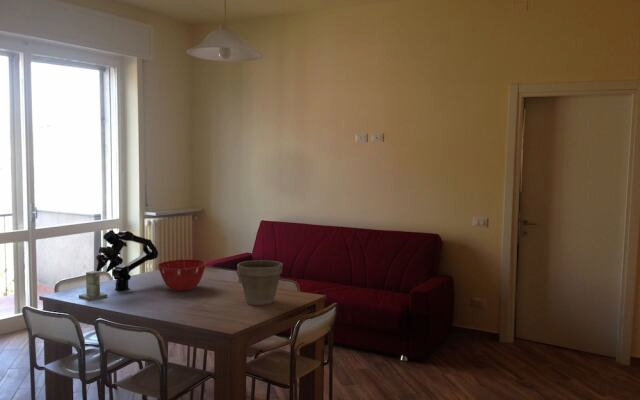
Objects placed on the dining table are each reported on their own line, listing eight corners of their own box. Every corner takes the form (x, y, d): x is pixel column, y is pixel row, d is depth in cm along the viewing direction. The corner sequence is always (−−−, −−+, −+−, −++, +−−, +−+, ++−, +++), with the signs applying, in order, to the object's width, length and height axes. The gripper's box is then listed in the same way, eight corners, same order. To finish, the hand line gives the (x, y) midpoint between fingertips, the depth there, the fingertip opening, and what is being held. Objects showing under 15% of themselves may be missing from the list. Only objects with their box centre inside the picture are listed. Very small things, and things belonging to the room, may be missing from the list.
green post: (93, 293, 316) (93, 270, 315) (100, 294, 314) (99, 271, 313) (86, 295, 312) (86, 272, 311) (92, 296, 309) (92, 273, 308)
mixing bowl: (183, 296, 317) (183, 269, 316) (148, 290, 331) (147, 264, 330) (215, 286, 341) (215, 262, 340) (181, 281, 355) (181, 257, 354)
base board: (97, 294, 321) (96, 291, 320) (107, 297, 314) (107, 294, 314) (78, 297, 312) (78, 295, 312) (89, 301, 305) (89, 298, 305)
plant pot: (254, 294, 322) (254, 257, 320) (290, 299, 310) (290, 261, 309) (228, 304, 300) (228, 265, 298) (266, 310, 288) (266, 269, 287)
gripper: (96, 241, 326) (82, 263, 318) (115, 241, 316) (101, 264, 308) (110, 251, 334) (96, 273, 325) (129, 252, 323) (115, 275, 315)
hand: (101, 271), depth 318 cm, fingers open, 9 cm apart
